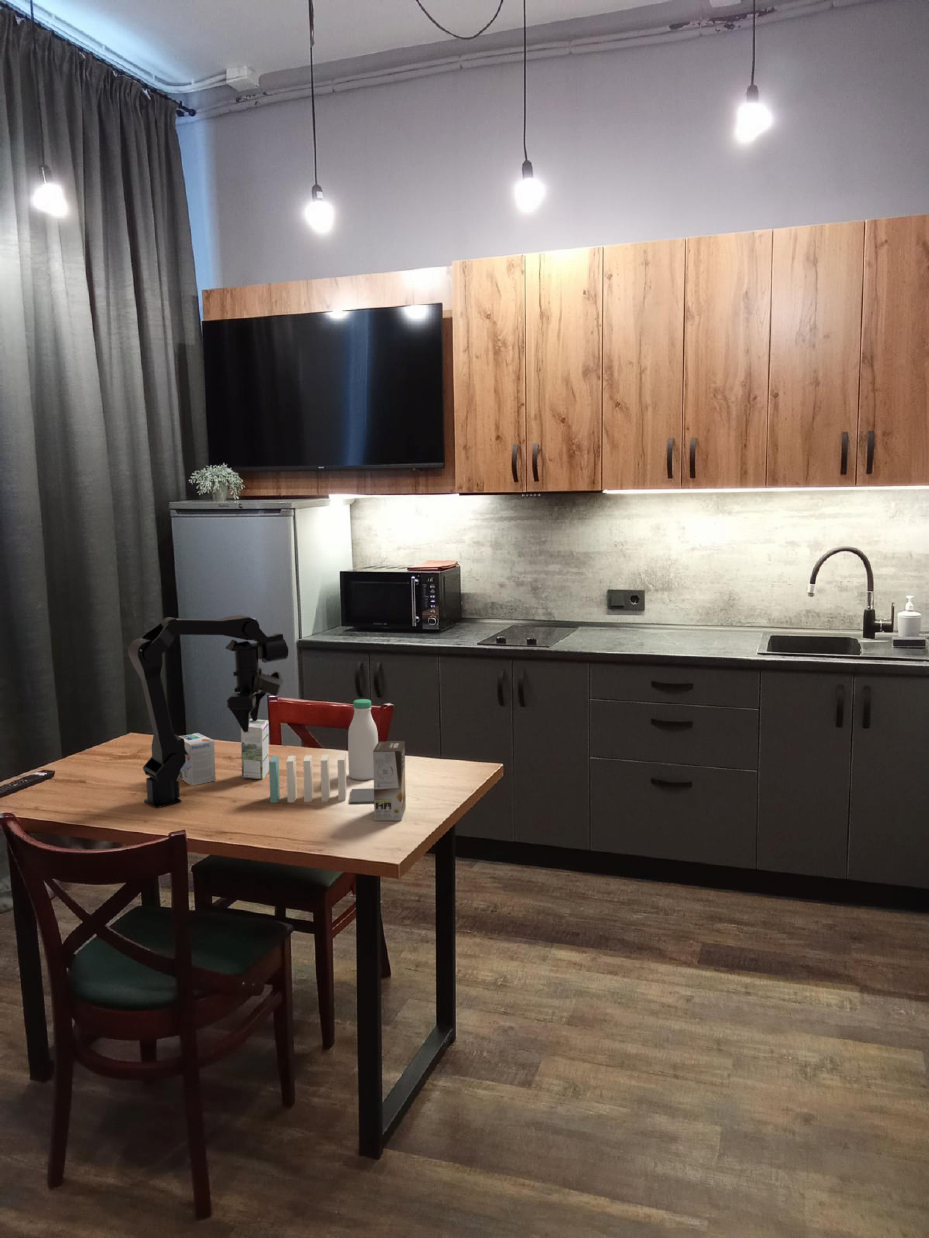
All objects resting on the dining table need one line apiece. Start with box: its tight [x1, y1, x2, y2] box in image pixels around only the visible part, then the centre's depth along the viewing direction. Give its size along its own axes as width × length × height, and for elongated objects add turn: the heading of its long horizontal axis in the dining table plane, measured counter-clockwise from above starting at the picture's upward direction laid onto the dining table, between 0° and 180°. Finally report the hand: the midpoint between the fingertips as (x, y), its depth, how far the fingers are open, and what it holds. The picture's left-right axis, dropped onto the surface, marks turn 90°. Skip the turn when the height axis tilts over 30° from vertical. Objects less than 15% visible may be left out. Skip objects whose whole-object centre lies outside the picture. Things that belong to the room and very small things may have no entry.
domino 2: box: [285, 755, 298, 803], centre depth 227 cm, size 2×5×10 cm, turn 4°
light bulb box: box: [178, 732, 217, 786], centre depth 244 cm, size 11×7×11 cm, turn 38°
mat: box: [349, 787, 374, 805], centre depth 229 cm, size 10×10×1 cm
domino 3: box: [302, 754, 314, 803], centre depth 227 cm, size 2×5×10 cm, turn 4°
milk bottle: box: [347, 698, 379, 781], centre depth 245 cm, size 8×8×20 cm
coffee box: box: [373, 740, 407, 822], centre depth 215 cm, size 9×6×16 cm
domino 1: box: [268, 755, 281, 804], centre depth 227 cm, size 2×5×10 cm, turn 4°
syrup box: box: [240, 718, 270, 780], centre depth 245 cm, size 6×6×14 cm
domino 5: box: [337, 753, 347, 802], centre depth 228 cm, size 2×5×10 cm, turn 4°
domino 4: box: [320, 754, 331, 802], centre depth 228 cm, size 2×5×10 cm, turn 4°
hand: (250, 725), depth 239 cm, fingers open, 9 cm apart
